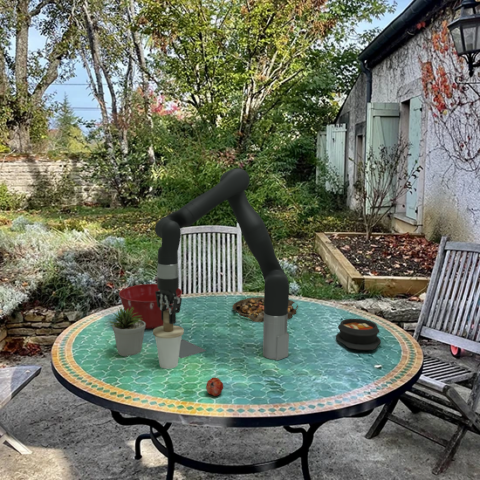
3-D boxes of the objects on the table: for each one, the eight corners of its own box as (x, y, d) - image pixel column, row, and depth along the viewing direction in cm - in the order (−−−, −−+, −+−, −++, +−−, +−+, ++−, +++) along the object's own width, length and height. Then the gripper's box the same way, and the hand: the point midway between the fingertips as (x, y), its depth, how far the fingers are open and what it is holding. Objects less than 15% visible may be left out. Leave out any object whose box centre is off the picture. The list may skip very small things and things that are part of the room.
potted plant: (108, 349, 192) (107, 300, 188) (143, 345, 196) (142, 297, 193) (111, 361, 180) (110, 309, 177) (148, 356, 185) (147, 306, 182)
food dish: (281, 330, 221) (281, 313, 219) (220, 318, 237) (219, 303, 236) (309, 308, 251) (310, 294, 249) (253, 299, 267) (253, 286, 266)
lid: (189, 333, 173) (189, 312, 172) (163, 340, 166) (163, 318, 165) (172, 325, 182) (172, 305, 180) (147, 332, 174) (147, 310, 173)
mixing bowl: (189, 330, 215) (189, 296, 212) (124, 337, 204) (123, 302, 202) (174, 312, 240) (173, 282, 238) (115, 317, 230) (114, 286, 228)
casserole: (386, 355, 190) (387, 335, 189) (338, 353, 192) (339, 333, 190) (374, 333, 215) (376, 315, 213) (332, 331, 216) (333, 313, 215)
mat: (206, 352, 190) (206, 350, 190) (181, 360, 182) (181, 358, 182) (183, 340, 202) (183, 339, 202) (158, 347, 194) (158, 345, 194)
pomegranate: (209, 394, 159) (198, 388, 154) (217, 378, 161) (206, 371, 155) (222, 401, 156) (211, 395, 150) (230, 385, 158) (220, 378, 152)
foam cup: (182, 361, 181) (182, 328, 179) (180, 372, 172) (180, 337, 169) (157, 361, 180) (157, 328, 178) (153, 372, 171) (153, 337, 169)
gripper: (188, 277, 168) (188, 324, 170) (165, 270, 178) (166, 314, 181) (170, 281, 163) (170, 329, 165) (148, 273, 173) (148, 318, 176)
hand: (168, 321), depth 173 cm, fingers open, 4 cm apart
